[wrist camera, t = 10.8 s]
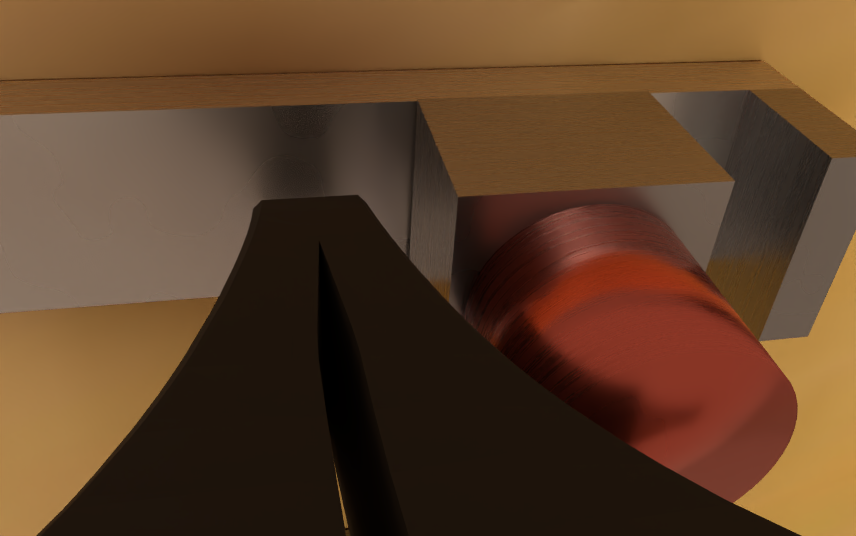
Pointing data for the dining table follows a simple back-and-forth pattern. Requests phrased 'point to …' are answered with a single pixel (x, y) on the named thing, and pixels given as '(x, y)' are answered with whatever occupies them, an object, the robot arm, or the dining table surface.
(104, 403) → the dining table surface
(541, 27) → the dining table surface
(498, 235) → the lever
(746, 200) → the lever rail
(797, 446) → the dining table surface
